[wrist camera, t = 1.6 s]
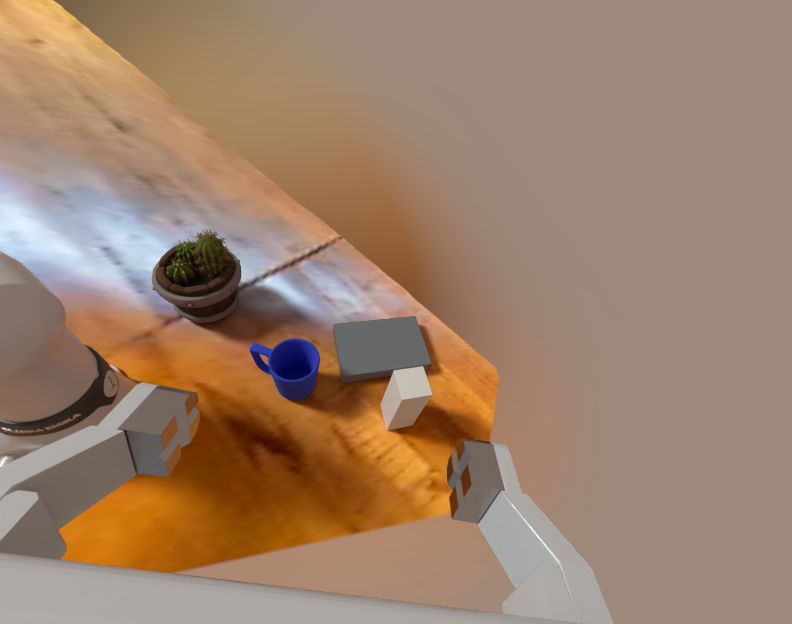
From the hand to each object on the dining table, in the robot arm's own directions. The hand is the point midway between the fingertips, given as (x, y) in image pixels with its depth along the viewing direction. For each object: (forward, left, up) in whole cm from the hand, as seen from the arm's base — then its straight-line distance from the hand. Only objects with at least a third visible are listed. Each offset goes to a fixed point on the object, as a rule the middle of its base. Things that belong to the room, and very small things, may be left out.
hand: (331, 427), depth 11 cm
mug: (-2, +27, -51) cm, 58 cm away
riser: (+17, +31, -51) cm, 62 cm away
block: (+17, +17, -51) cm, 56 cm away
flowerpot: (-16, +47, -51) cm, 72 cm away
